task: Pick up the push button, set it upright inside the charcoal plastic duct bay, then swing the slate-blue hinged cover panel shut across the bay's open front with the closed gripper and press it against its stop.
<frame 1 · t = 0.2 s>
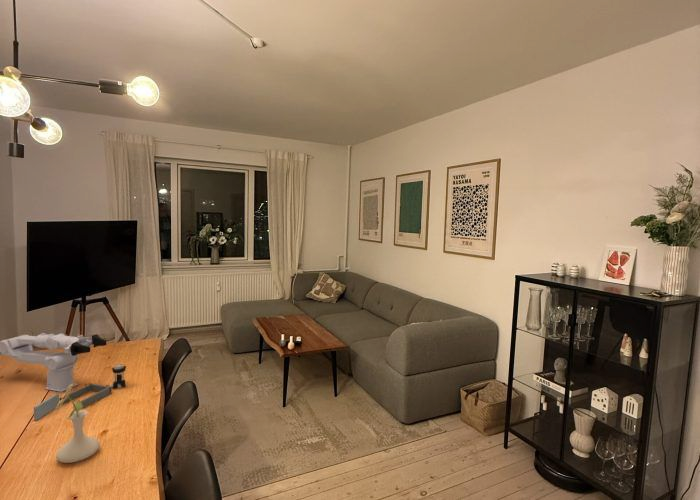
hand: (97, 346, 157), 21 cm above the table, tool horizontal, fingers open, 7 cm apart
flower in vase: (77, 457, 117), on the table
push button: (117, 387, 165), on the table
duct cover: (47, 406, 142), point 3 cm above the table, hinge at -75.0°
duct bay: (85, 399, 153), on the table
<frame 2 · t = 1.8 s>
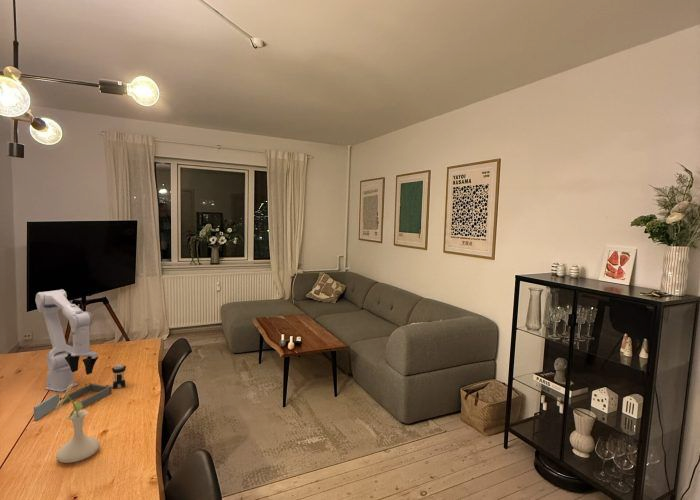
hand: (81, 372, 155), 10 cm above the table, tool pointing down, fingers open, 7 cm apart
nothing on the table moved.
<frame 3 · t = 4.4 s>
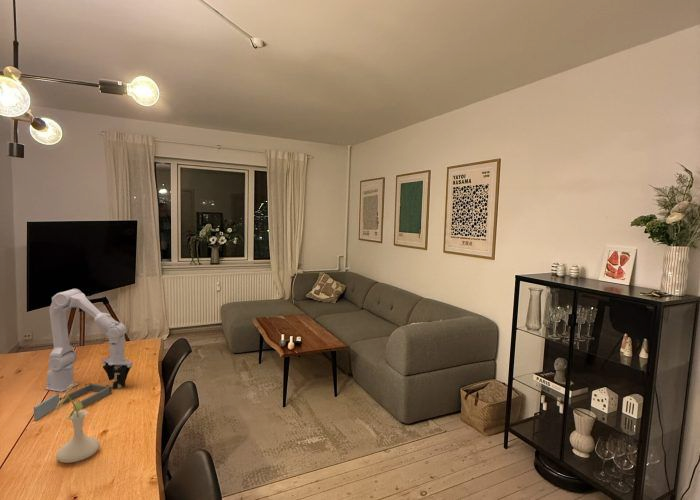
hand: (117, 380, 165), 3 cm above the table, tool pointing down, fingers open, 6 cm apart
push button: (117, 387, 165), on the table, touching gripper
everything else where it was.
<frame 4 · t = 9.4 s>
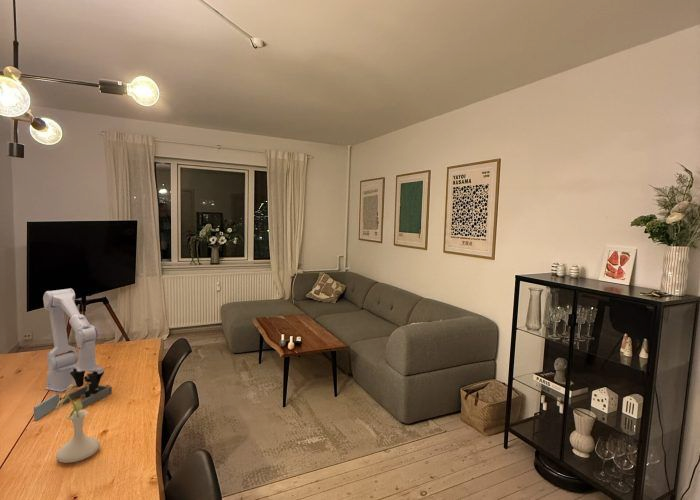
hand: (87, 387, 154), 5 cm above the table, tool pointing down, fingers open, 7 cm apart
push button: (90, 397, 156), resting in duct bay
everything else where it was.
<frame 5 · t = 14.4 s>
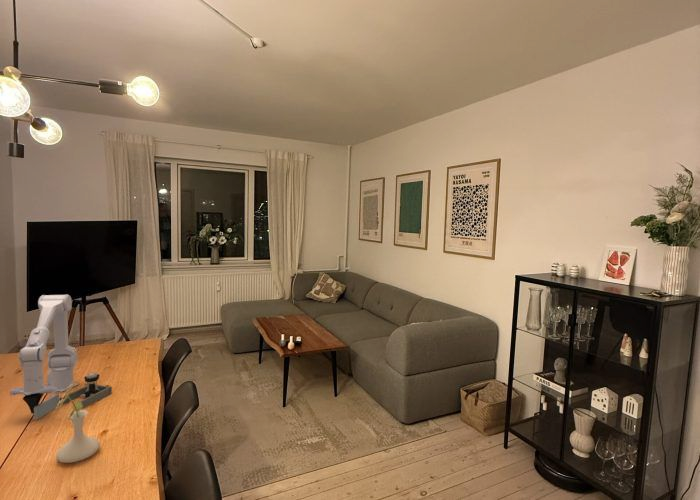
hand: (34, 412, 138), 2 cm above the table, tool pointing down, fingers closed
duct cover: (47, 406, 142), point 3 cm above the table, hinge at -74.9°, touching gripper
everything else where it was.
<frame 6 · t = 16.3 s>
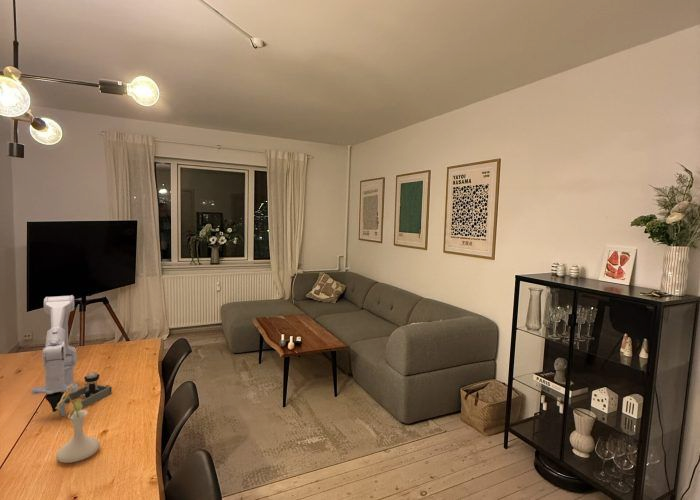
hand: (55, 410, 139), 2 cm above the table, tool pointing down, fingers closed
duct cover: (60, 404, 144), point 3 cm above the table, hinge at -29.4°, touching gripper
everything else where it was.
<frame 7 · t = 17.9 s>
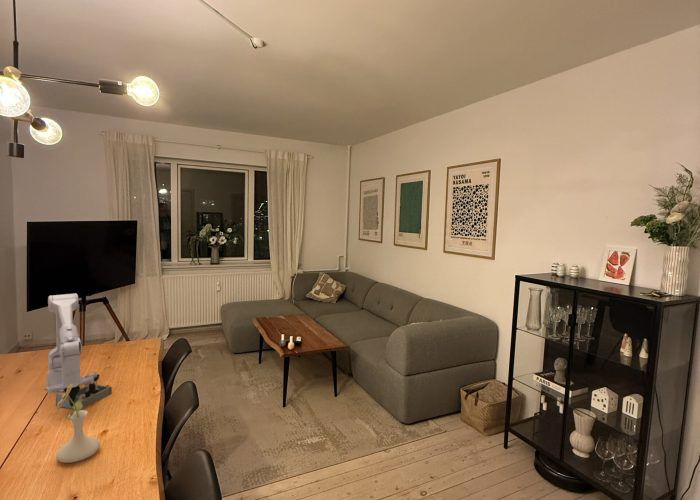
hand: (71, 405, 143), 3 cm above the table, tool pointing down, fingers closed
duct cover: (68, 401, 146), point 3 cm above the table, hinge at 1.1°, touching duct bay, gripper
everything else where it was.
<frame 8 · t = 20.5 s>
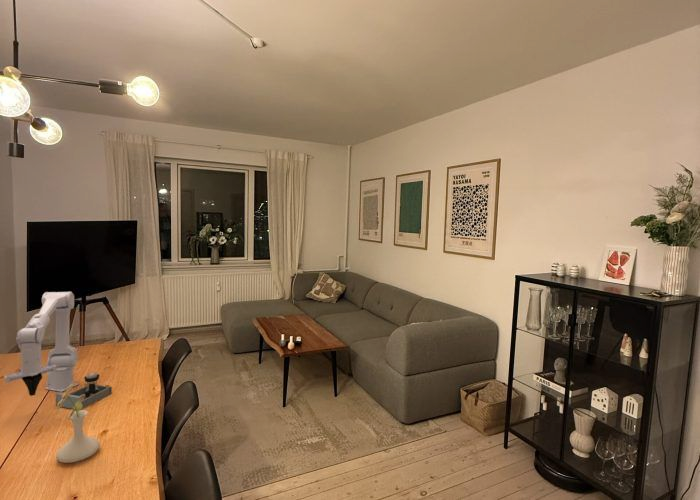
hand: (32, 394, 137), 9 cm above the table, tool pointing down, fingers closed
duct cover: (68, 401, 146), point 3 cm above the table, hinge at 1.1°, touching duct bay
everything else where it was.
at the end: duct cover at +1° (first picture: -75°); push button inside the target area on the duct bay (2.1 cm from its centre), point 0.0 cm above the duct bay's base; push button tilted 0° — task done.
